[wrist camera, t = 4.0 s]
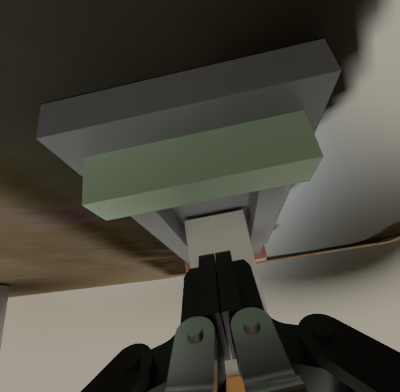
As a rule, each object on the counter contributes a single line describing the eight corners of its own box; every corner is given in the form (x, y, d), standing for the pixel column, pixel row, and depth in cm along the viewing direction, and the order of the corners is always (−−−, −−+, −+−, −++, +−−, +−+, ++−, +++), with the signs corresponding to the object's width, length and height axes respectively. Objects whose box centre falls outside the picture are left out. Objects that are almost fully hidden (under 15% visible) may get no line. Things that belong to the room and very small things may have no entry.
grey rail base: (263, 231, 30) (271, 261, 29) (181, 246, 31) (184, 276, 30) (324, 38, 8) (368, 121, 7) (41, 104, 9) (28, 192, 8)
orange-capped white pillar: (243, 226, 21) (277, 373, 17) (192, 236, 21) (213, 382, 17) (244, 208, 17) (288, 392, 13) (182, 220, 17) (206, 404, 13)
